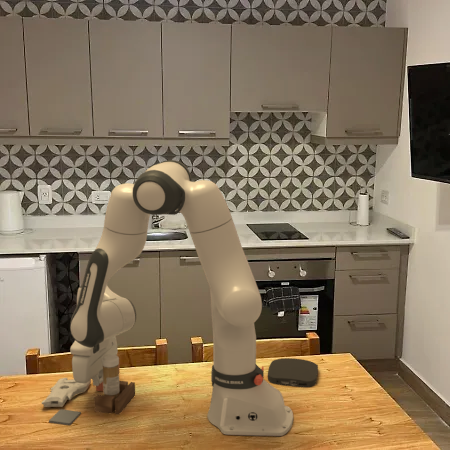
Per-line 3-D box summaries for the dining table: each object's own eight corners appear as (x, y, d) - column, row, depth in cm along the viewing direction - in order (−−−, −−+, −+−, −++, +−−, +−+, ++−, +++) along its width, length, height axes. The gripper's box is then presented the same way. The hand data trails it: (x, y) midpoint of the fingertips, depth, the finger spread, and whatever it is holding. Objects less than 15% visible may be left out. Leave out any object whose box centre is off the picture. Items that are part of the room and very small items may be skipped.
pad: (81, 413, 155) (80, 411, 154) (70, 425, 149) (69, 423, 149) (60, 411, 156) (60, 409, 156) (48, 422, 150) (48, 420, 150)
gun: (76, 398, 155) (38, 398, 155) (76, 410, 156) (39, 410, 156) (92, 372, 173) (58, 372, 173) (92, 383, 174) (59, 383, 174)
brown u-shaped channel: (135, 395, 165) (134, 382, 164) (119, 414, 154) (118, 400, 153) (112, 392, 166) (111, 379, 166) (94, 411, 156) (94, 397, 155)
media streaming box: (318, 368, 183) (319, 359, 182) (315, 390, 169) (315, 380, 168) (272, 364, 186) (273, 355, 185) (265, 384, 172) (265, 375, 171)
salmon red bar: (119, 373, 178) (119, 364, 178) (102, 391, 167) (102, 381, 166) (113, 373, 179) (113, 363, 178) (96, 390, 167) (95, 381, 167)
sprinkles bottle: (104, 399, 162) (102, 354, 160) (120, 398, 163) (118, 353, 160) (103, 407, 158) (101, 361, 155) (120, 406, 159) (118, 360, 156)
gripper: (102, 323, 173) (104, 367, 176) (66, 350, 154) (70, 399, 156) (121, 325, 171) (123, 369, 174) (88, 353, 152) (91, 401, 155)
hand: (98, 383), depth 165 cm, fingers closed
